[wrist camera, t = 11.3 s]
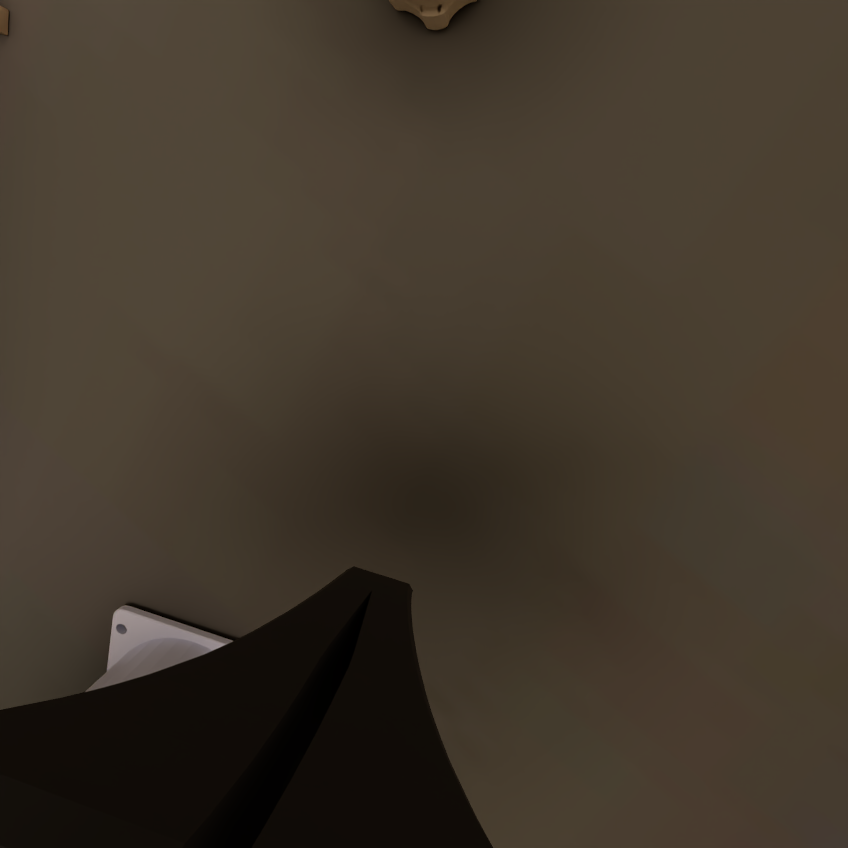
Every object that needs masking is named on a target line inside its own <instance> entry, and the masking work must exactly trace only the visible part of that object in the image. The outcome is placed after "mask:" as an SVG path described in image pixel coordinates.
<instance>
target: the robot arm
mask: <svg viewBox="0 0 848 848" xmlns="http://www.w3.org/2000/svg"><path fill="white" fill-rule="evenodd" d="M412 591H413V590H412V588H411V587H410V585H409V584H407V583H404V582H401V581H398V580H395V579H392V578H389V577H385V576H382V575H379V574H376V573H373V572H370V571H366V570H363V569H360V568H357V567H352V568H350V569H348V570H346V571H345V572H344V573H342V574H341V575H340V576H339V577H337V578H336V579H335V580H333V581H332V582H331V583H329V584H328V585H326V586H325V587H324V588H322V589H321V590H319V591H318V592H317V593H315V594H314V595H312V596H311V597H309V598H308V599H306V600H305V601H303V602H302V603H300V604H298V605H297V606H295V607H294V608H292V609H291V610H289V611H288V612H286V613H284V614H282V615H281V616H279V617H277V618H275V619H274V620H272V621H270V622H268V623H267V624H265V625H263V626H261V627H260V628H258V629H256V630H254V631H252V632H251V633H249V634H247V635H245V636H243V637H241V638H239V639H237V640H235V641H232V640H229V639H226V638H223V637H220V636H218V635H215V634H212V633H209V632H206V631H203V630H200V629H197V628H194V627H191V626H188V625H185V624H182V623H179V622H176V621H173V620H170V619H167V618H164V617H161V616H158V615H155V614H152V613H149V612H146V611H143V610H140V609H137V608H134V607H131V606H127V605H124V606H121V607H120V608H119V609H117V610H116V611H115V612H114V615H113V621H112V630H111V639H110V647H109V656H108V665H107V672H106V673H105V674H104V675H103V676H102V677H100V678H99V679H98V680H97V681H96V682H95V683H94V684H93V685H92V686H91V687H90V688H88V689H87V690H86V691H85V692H84V693H80V694H75V695H71V696H67V697H63V698H58V699H53V700H48V701H43V702H38V703H33V704H28V705H23V706H18V707H13V708H8V709H3V710H0V848H493V847H492V845H491V843H490V841H489V839H488V838H487V836H486V834H485V832H484V830H483V828H482V827H481V825H480V823H479V821H478V819H477V818H476V816H475V813H474V811H473V809H472V807H471V805H470V803H469V801H468V799H467V797H466V795H465V792H464V790H463V788H462V786H461V784H460V782H459V780H458V778H457V776H456V773H455V771H454V769H453V767H452V765H451V763H450V760H449V758H448V755H447V753H446V750H445V748H444V745H443V743H442V740H441V738H440V735H439V732H438V729H437V726H436V724H435V721H434V718H433V715H432V712H431V709H430V706H429V702H428V699H427V695H426V692H425V688H424V684H423V680H422V676H421V672H420V668H419V663H418V659H417V653H416V647H415V641H414V635H413V627H412V616H411V597H412ZM123 625H124V626H125V627H126V628H125V627H124V626H123Z"/></svg>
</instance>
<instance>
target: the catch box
mask: <svg viewBox="0 0 848 848" xmlns="http://www.w3.org/2000/svg"><path fill="white" fill-rule="evenodd" d="M8 16H9V10H7V9H5V8H4V7H2V6H1V5H0V34H3V35H7V36H8Z"/></svg>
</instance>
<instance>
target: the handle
mask: <svg viewBox="0 0 848 848" xmlns="http://www.w3.org/2000/svg"><path fill="white" fill-rule="evenodd" d="M389 1H390V3H391V4H392V5H393V7H394V8H395V9H396V10H398V11H403V10H405V11H408V12H410V13H413V14H414V15H416V16H417V17H419V18H420V19H421V20H422V21H423V22H424V24H425V26H426V27H427V29H431V30H439V29H443V28H445V27H447V26H448V24H449V20H450V19H451V18H452V16H453V15H454V14H455V13H456V12H457V11H458V10H459V9H460V8H462V7H463V6H465V5H466V4H469V3H471V2H476V1H477V0H389Z"/></svg>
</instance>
